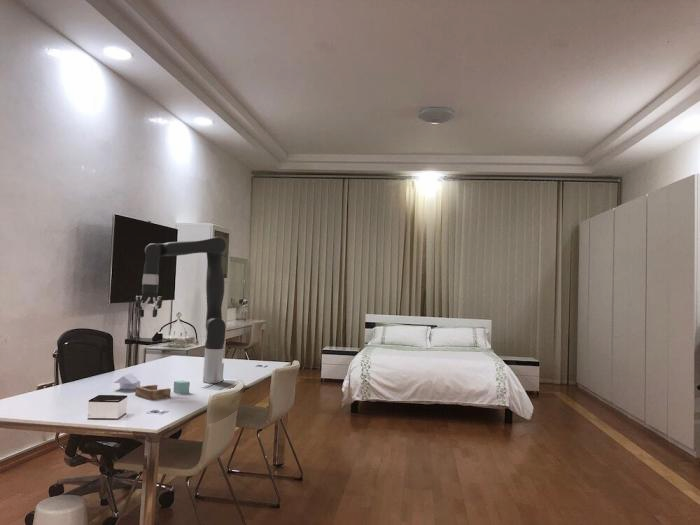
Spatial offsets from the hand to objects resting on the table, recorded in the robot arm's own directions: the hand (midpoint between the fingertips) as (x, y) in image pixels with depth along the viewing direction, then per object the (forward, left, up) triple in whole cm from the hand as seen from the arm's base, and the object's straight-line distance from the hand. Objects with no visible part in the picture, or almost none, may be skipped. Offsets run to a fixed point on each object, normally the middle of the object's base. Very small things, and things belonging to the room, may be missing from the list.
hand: (148, 317), depth 277 cm
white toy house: (+12, +7, -33) cm, 36 cm away
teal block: (-2, +29, -33) cm, 44 cm away
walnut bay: (+12, +29, -33) cm, 45 cm away
